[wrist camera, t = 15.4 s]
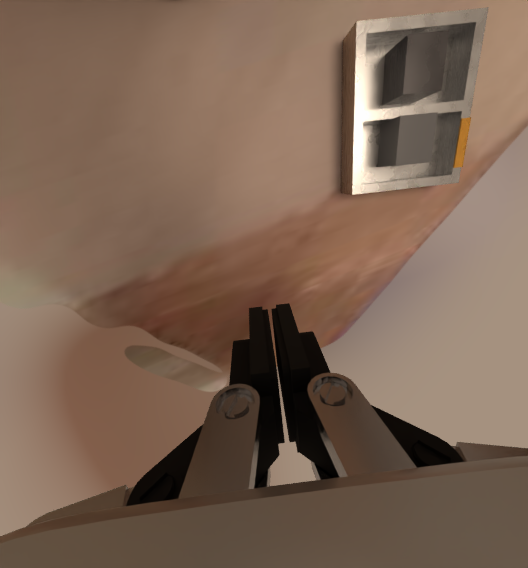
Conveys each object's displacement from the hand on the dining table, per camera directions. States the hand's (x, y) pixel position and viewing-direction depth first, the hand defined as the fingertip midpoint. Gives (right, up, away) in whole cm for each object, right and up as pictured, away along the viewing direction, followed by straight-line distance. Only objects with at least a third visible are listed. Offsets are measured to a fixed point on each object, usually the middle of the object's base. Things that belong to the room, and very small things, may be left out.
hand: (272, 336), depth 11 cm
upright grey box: (+16, +20, +21) cm, 33 cm away
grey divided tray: (+16, +23, +21) cm, 35 cm away
